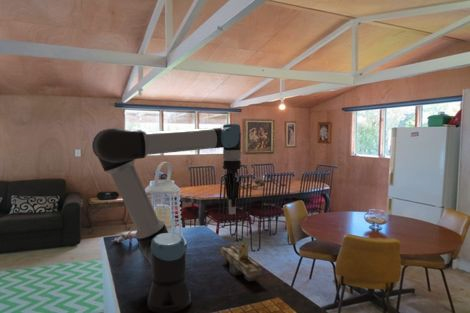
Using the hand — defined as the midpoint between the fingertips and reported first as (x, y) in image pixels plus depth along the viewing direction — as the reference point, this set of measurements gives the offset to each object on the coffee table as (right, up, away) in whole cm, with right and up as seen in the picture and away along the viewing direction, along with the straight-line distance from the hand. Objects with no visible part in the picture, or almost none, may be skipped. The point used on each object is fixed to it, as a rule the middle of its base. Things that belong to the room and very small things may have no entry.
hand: (232, 213), depth 141 cm
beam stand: (+3, -25, -2) cm, 25 cm away
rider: (+5, -19, -6) cm, 20 cm away
